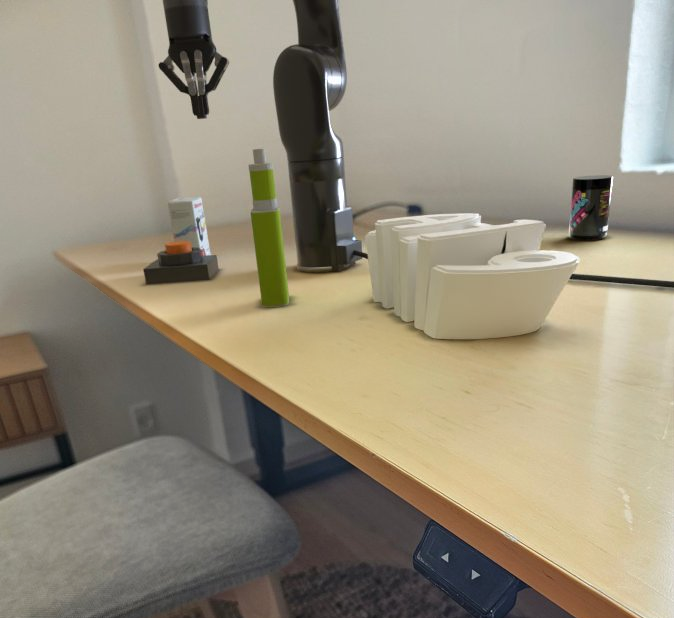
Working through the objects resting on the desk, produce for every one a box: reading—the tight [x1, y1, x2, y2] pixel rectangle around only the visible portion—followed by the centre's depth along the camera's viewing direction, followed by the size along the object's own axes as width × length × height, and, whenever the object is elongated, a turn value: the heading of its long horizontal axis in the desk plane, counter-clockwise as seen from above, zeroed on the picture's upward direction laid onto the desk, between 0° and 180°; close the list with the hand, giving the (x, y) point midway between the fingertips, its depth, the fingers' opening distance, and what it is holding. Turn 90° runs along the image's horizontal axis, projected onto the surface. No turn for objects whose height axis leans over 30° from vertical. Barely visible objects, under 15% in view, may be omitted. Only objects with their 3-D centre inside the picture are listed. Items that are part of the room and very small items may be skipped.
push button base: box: [143, 247, 220, 285], centre depth 115 cm, size 11×9×4 cm
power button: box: [164, 241, 192, 254], centre depth 114 cm, size 4×4×2 cm
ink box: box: [167, 196, 212, 256], centre depth 126 cm, size 9×5×12 cm, turn 179°
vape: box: [248, 148, 290, 308], centre depth 90 cm, size 4×6×20 cm, turn 2°
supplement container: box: [568, 174, 614, 242], centre depth 119 cm, size 7×7×10 cm
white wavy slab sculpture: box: [364, 212, 581, 340], centre depth 81 cm, size 35×16×10 cm, turn 14°
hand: (202, 118), depth 121 cm, fingers closed
